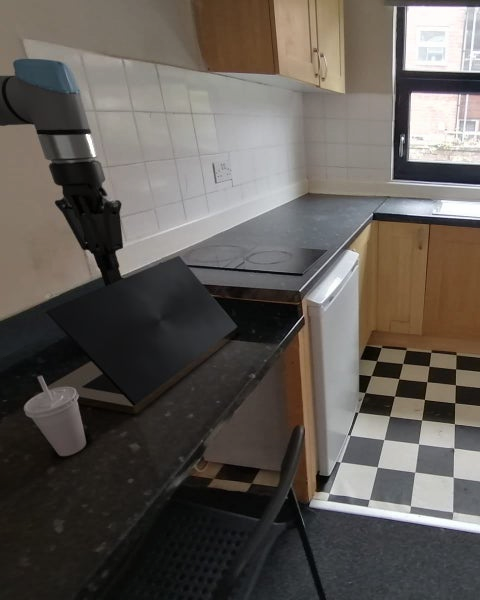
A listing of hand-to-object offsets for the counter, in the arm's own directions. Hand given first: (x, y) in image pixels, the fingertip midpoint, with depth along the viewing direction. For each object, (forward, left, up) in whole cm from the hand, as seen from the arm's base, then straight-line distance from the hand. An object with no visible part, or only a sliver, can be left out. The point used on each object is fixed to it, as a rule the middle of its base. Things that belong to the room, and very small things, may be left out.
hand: (114, 283), depth 81 cm
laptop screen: (+8, 0, -8) cm, 11 cm away
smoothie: (+11, -24, -18) cm, 32 cm away
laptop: (+4, 0, -18) cm, 18 cm away
